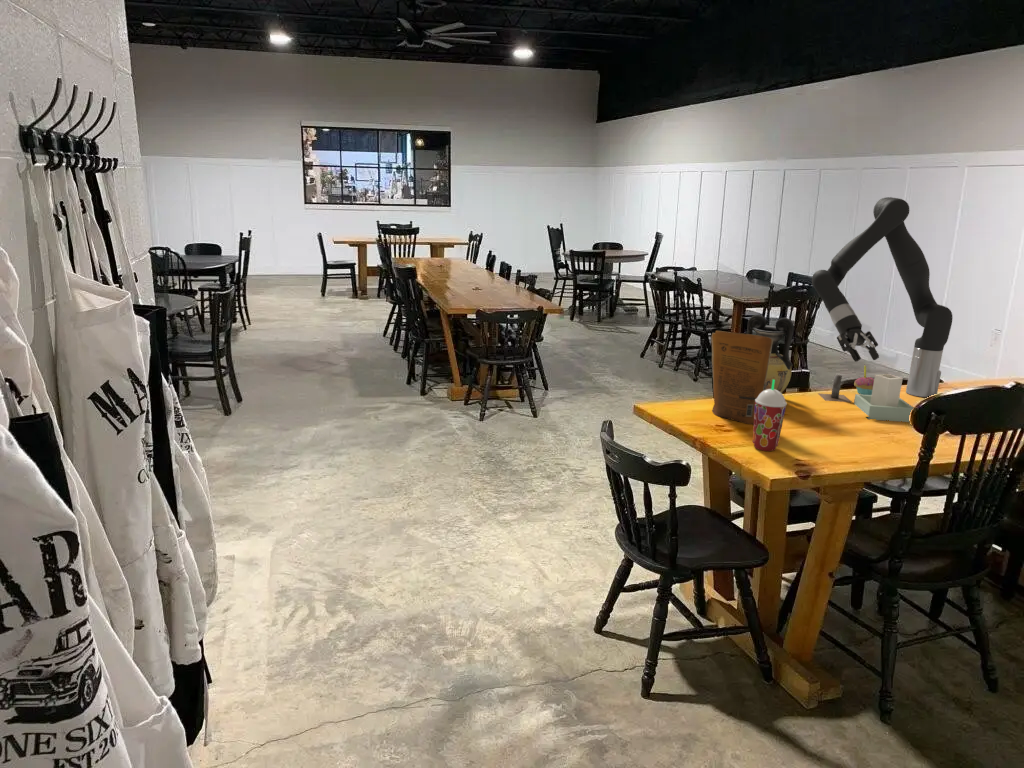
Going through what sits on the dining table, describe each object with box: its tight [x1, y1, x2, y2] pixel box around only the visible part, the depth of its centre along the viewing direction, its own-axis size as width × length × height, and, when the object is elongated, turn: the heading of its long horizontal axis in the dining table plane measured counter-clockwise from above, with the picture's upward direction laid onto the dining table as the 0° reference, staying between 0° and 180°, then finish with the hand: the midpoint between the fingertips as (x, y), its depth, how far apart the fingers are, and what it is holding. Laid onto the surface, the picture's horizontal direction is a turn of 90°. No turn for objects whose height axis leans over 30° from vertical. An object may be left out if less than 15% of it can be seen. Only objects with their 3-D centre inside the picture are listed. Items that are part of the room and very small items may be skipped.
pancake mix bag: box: [710, 330, 773, 425], centre depth 227 cm, size 7×19×28 cm, turn 46°
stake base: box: [817, 374, 853, 403], centre depth 254 cm, size 9×9×9 cm
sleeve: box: [870, 373, 904, 407], centre depth 239 cm, size 6×6×12 cm
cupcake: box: [853, 365, 875, 395], centre depth 261 cm, size 9×8×12 cm
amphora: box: [746, 314, 795, 394], centre depth 247 cm, size 18×17×30 cm
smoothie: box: [752, 379, 788, 452], centre depth 203 cm, size 8×8×20 cm
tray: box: [853, 393, 915, 423], centre depth 241 cm, size 14×14×4 cm
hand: (867, 359), depth 245 cm, fingers open, 8 cm apart
